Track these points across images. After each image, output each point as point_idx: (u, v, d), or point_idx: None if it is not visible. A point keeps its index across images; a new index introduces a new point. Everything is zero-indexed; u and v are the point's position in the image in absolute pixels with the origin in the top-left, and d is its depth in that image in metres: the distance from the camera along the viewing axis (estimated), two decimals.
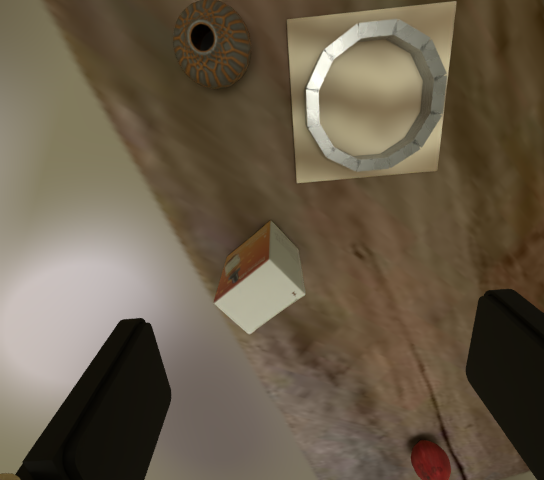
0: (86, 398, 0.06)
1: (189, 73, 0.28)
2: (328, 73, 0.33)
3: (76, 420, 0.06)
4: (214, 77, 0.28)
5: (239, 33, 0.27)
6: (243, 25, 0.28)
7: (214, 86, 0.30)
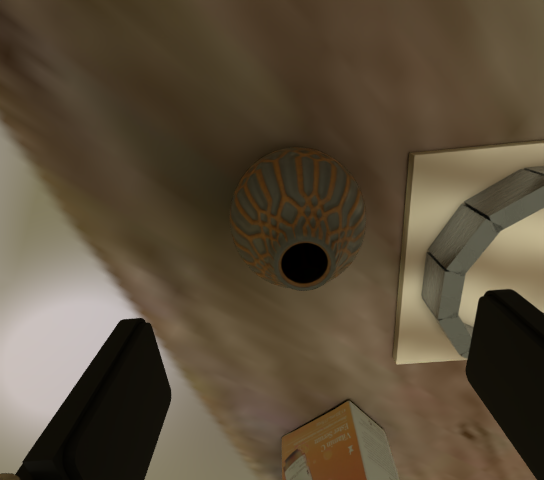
0: (86, 398, 0.06)
1: (258, 275, 0.16)
2: None
3: (76, 420, 0.06)
4: None
5: (360, 223, 0.14)
6: (361, 198, 0.15)
7: (297, 283, 0.17)
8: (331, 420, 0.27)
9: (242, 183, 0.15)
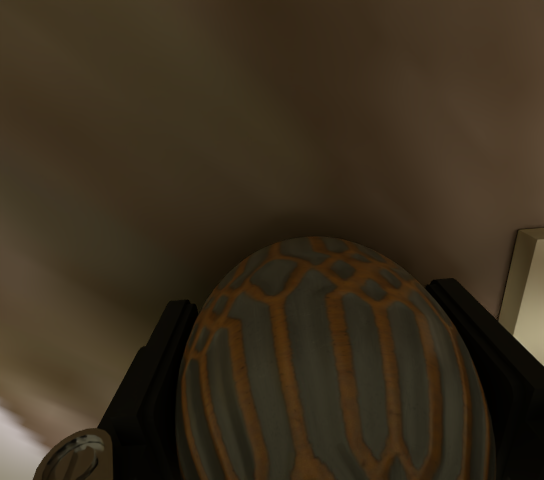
0: (153, 366, 0.07)
1: None
2: None
3: (149, 383, 0.07)
4: None
5: None
6: (480, 381, 0.06)
7: None
8: None
9: (199, 343, 0.06)
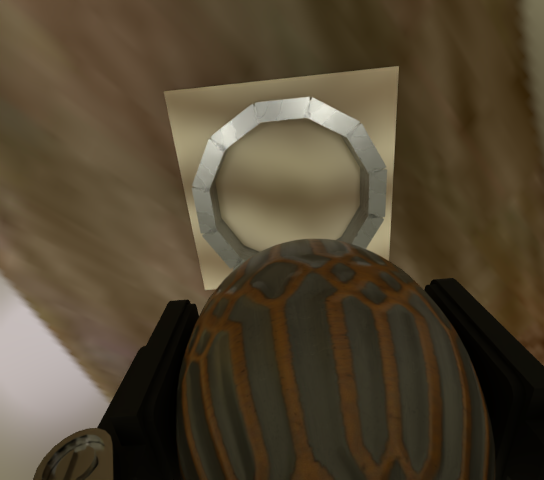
0: (154, 366, 0.07)
1: None
2: (230, 159, 0.24)
3: (150, 383, 0.07)
4: None
5: None
6: (479, 384, 0.06)
7: None
8: None
9: (199, 345, 0.07)
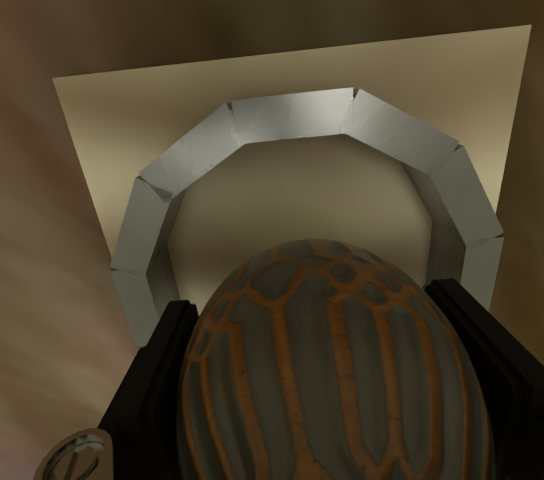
0: (153, 366, 0.07)
1: None
2: (192, 206, 0.13)
3: (150, 383, 0.07)
4: None
5: None
6: (479, 384, 0.06)
7: None
8: None
9: (199, 346, 0.07)
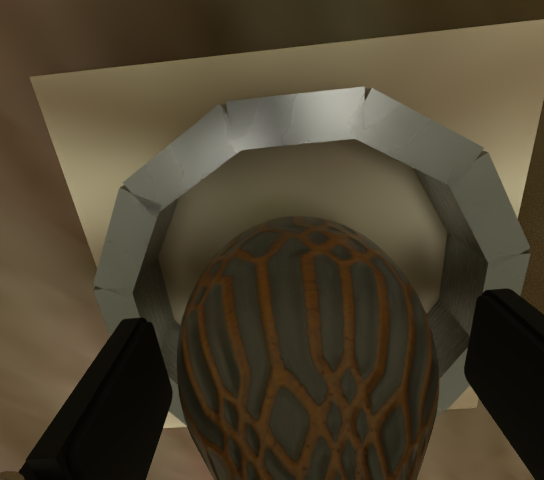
0: (89, 396, 0.06)
1: None
2: (185, 216, 0.12)
3: (79, 418, 0.06)
4: None
5: None
6: (430, 330, 0.08)
7: None
8: None
9: (197, 298, 0.08)
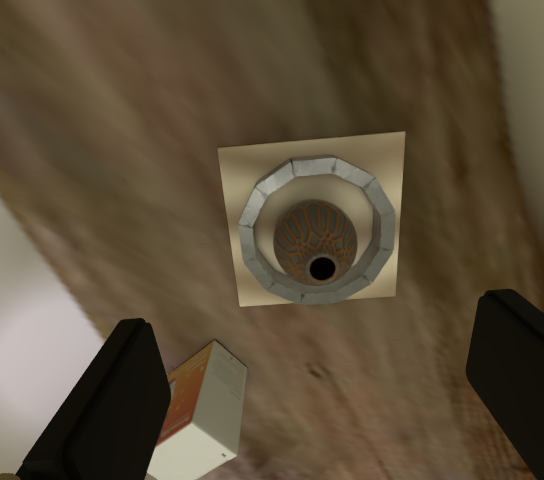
0: (86, 398, 0.06)
1: (291, 277, 0.26)
2: (267, 200, 0.29)
3: (76, 420, 0.06)
4: (320, 285, 0.25)
5: (353, 247, 0.24)
6: (354, 232, 0.25)
7: None
8: (199, 354, 0.36)
9: (283, 221, 0.25)
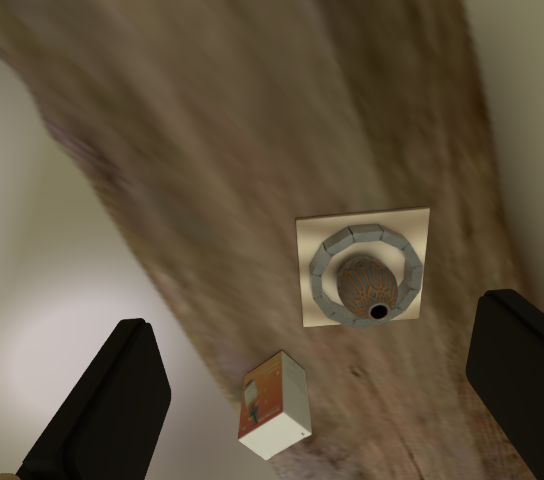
0: (86, 398, 0.06)
1: (352, 313, 0.38)
2: None
3: (76, 420, 0.06)
4: None
5: (396, 294, 0.36)
6: (396, 282, 0.37)
7: None
8: (271, 361, 0.48)
9: (347, 275, 0.37)
